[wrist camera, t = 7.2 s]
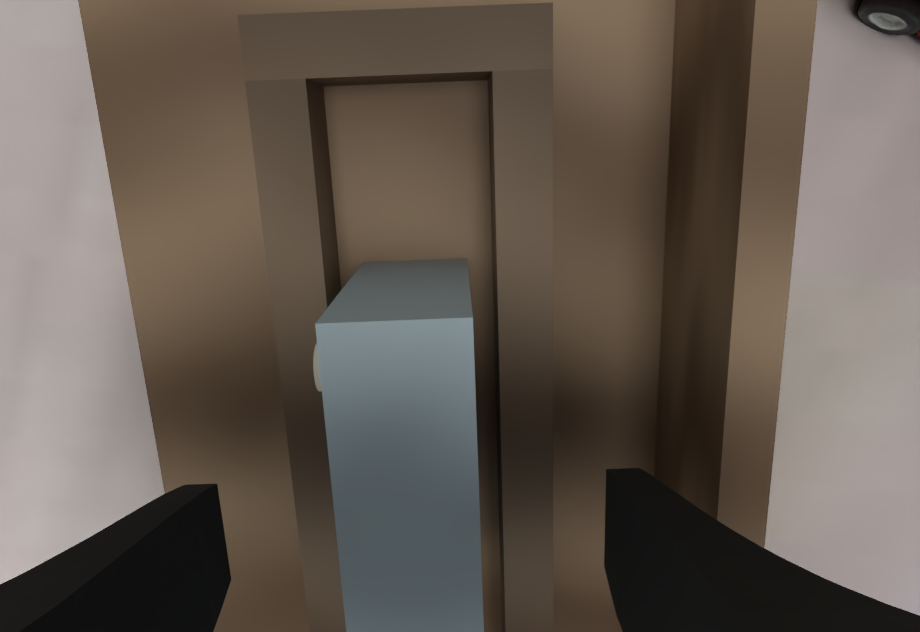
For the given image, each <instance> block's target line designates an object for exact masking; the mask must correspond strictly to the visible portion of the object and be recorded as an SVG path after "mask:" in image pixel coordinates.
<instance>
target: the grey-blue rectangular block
mask: <svg viewBox="0 0 920 632" xmlns="http://www.w3.org/2000/svg"><path fill="white" fill-rule="evenodd" d="M315 328H316V338H317V343H316V345H315V349H314V357H313V371H314V380H315V385H316V388H317V390H318V391H322V397H323V407H324V417H325V427H326V437H327V446H328V456H329V466H330V476H331V486H332V496H333V506H334V516H335V526H336V535H337V545H338V555H339V565H340V575H341V585H342V595H343V605H344V615H345V624H346V632H484V619H483V591H482V562H481V533H480V505H479V476H478V447H477V418H476V390H475V361H474V332H473V313H472V303H471V294H470V285H469V275H468V266H467V258H457V259H431V260H406V261H381V262H363V263H362V264H361V266H360V267H359V268H358V269H357V271H356V272H355V273H354V275H353V276H352V277H351V278H350V280H349V281H348V282H347V284H346V285H345V286H344V287H343V289H342V290H341V291H340V292H339V294H338V295H337V296H336V298H335V299H334V300H333V301H332V303H331V304H330V305H329V307H328V308H327V309H326V310H325V312H324V313H323V314H322V315H321V317H320V318H319V319H318V321H317V322H316V323H315Z"/></svg>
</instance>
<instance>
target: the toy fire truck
mask: <svg viewBox="0 0 920 632" xmlns="http://www.w3.org/2000/svg"><path fill="white" fill-rule="evenodd" d="M858 16H859V17H860V19H861V20H862V21H863V22H864V23H865V24H866V25H868V26H870V27H872V28H873V29H876V30H879V31H882V32H885V33H888V34H892V35H907V34H913V33H916V32H917V34H918V36H919V37H920V0H863V2H862V4H861V6H860V8H859V11H858Z"/></svg>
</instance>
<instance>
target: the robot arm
mask: <svg viewBox="0 0 920 632" xmlns="http://www.w3.org/2000/svg"><path fill="white" fill-rule="evenodd" d="M604 568H605V572H606V576H607V580H608V584H609V588H610V592H611V596H612V600H613V604H614V608H615V611H616V615H617V618H618V621H619V623H620V626H621V629H622V631H623V632H920V616H919V615H916V614H913V613H910V612H907V611H905V610H902V609H899V608H896V607H893V606H891V605H888V604H885V603H883V602H880V601H878V600H875V599H873V598H870V597H868V596H865V595H863V594H860V593H858V592H855V591H853V590H850V589H848V588H845V587H843V586H840V585H838V584H836V583H833V582H831V581H829V580H827V579H824V578H822V577H820V576H818V575H816V574H814V573H812V572H810V571H807V570H805V569H803V568H801V567H799V566H797V565H795V564H793V563H791V562H789V561H787V560H785V559H783V558H781V557H779V556H777V555H775V554H774V553H772V552H770V551H768V550H766V549H764V548H762V547H761V546H759V545H757V544H756V543H754V542H752V541H751V540H749V539H747V538H745V537H744V536H742V535H740V534H739V533H737V532H735V531H733V530H732V529H730V528H729V527H727V526H726V525H724V524H722V523H721V522H719V521H718V520H716V519H715V518H713V517H711V516H710V515H708V514H707V513H705V512H704V511H702V510H701V509H699V508H698V507H696V506H695V505H694V504H692V503H691V502H689V501H688V500H686V499H685V498H683V497H682V496H680V495H679V494H678V493H676V492H675V491H673V490H672V489H671V488H669V487H668V486H666V485H665V484H663V483H662V482H660V481H659V480H658V479H656V478H655V477H653V476H652V475H650V474H649V473H647V472H646V471H644V470H642V469H640V468H622V469H606V501H605V548H604ZM230 582H231V574H230V567H229V560H228V553H227V547H226V540H225V533H224V526H223V520H222V513H221V506H220V499H219V493H218V486H217V484H190V485H183V486H180V487H178V488H176V489H174V490H172V491H170V492H168V493H166V494H164V495H162V496H160V497H158V498H157V499H155V500H153V501H151V502H150V503H148V504H146V505H144V506H143V507H141V508H139V509H137V510H136V511H134V512H132V513H131V514H129V515H127V516H125V517H124V518H122V519H120V520H119V521H117V522H115V523H114V524H112V525H110V526H108V527H107V528H105V529H103V530H102V531H100V532H98V533H96V534H95V535H93V536H91V537H89V538H88V539H86V540H84V541H82V542H80V543H79V544H77V545H75V546H73V547H71V548H69V549H68V550H66V551H64V552H62V553H60V554H58V555H57V556H55V557H53V558H51V559H49V560H47V561H45V562H44V563H42V564H40V565H38V566H36V567H34V568H33V569H31V570H29V571H27V572H25V573H23V574H21V575H19V576H17V577H15V578H13V579H11V580H9V581H7V582H5V583H3V584H0V632H213V631H214V628H215V625H216V623H217V620H218V617H219V615H220V612H221V609H222V606H223V603H224V600H225V597H226V594H227V591H228V588H229V585H230Z"/></svg>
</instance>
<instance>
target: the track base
mask: <svg viewBox="0 0 920 632" xmlns="http://www.w3.org/2000/svg"><path fill="white" fill-rule="evenodd" d="M78 1H79V7H80V13H81V18H82V24H83V30H84V35H85V41H86V47H87V52H88V58H89V64H90V70H91V75H92V81H93V87H94V92H95V98H96V104H97V109H98V115H99V121H100V126H101V132H102V138H103V143H104V149H105V155H106V161H107V166H108V172H109V178H110V183H111V189H112V195H113V200H114V206H115V212H116V217H117V223H118V229H119V234H120V240H121V246H122V251H123V257H124V263H125V269H126V274H127V280H128V286H129V291H130V297H131V303H132V308H133V314H134V320H135V325H136V331H137V337H138V342H139V348H140V354H141V360H142V365H143V371H144V377H145V382H146V388H147V394H148V399H149V405H150V411H151V416H152V422H153V428H154V433H155V439H156V445H157V451H158V456H159V462H160V468H161V473H162V479H163V485H164V490H165V494H166V493H168V492H170V491H172V490H174V489H176V488H178V487H180V486H183V485H190V484H217V486H218V493H219V499H220V506H221V513H222V520H223V526H224V533H225V540H226V547H227V553H228V560H229V567H230V574H231V582H230V585H229V588H228V591H227V594H226V597H225V600H224V603H223V606H222V609H221V612H220V615H219V617H218V620H217V623H216V625H215V628H214V631H213V632H346V624H345V615H344V605H343V595H342V585H341V575H340V565H339V555H338V545H337V535H336V526H335V516H334V506H333V496H332V486H331V476H330V466H329V456H328V446H327V437H326V427H325V417H324V407H323V397H322V391H318V390H317V388H316V385H315V380H314V371H313V357H314V349H315V345H316V343H317V338H316V328H315V323H316V322H317V321H318V319H319V318H320V317H321V315H322V314H323V313H324V312H325V310H326V309H327V308H328V307H329V305H330V304H331V303H332V301H333V300H334V299H335V298H336V296H337V295H338V294H339V292H340V291H341V290H342V289H343V287H344V286H345V285H346V284H347V282H348V281H349V280H350V278H351V277H352V276H353V275H354V273H355V272H356V271H357V269H358V268H359V267H360V266H361V264H362V263H363V262H381V261H406V260H431V259H457V258H467V266H468V275H469V285H470V294H471V303H472V313H473V332H474V361H475V390H476V418H477V447H478V476H479V505H480V533H481V562H482V591H483V619H484V632H623V631H622V629H621V626H620V623H619V621H618V618H617V615H616V611H615V608H614V604H613V600H612V596H611V592H610V588H609V584H608V580H607V576H606V572H605V568H604V548H605V501H606V469H622V468H640V469H642V470H644V471H646V472H647V473H649V474H650V475H652V476H653V477H655V478H656V479H658V480H659V481H660V482H662V483H663V484H665V485H666V486H668V487H669V488H671V489H672V490H673V491H675V492H676V493H678V494H679V495H680V496H682V497H683V498H685V499H686V500H688V501H689V502H691V503H692V504H694V505H695V506H696V507H698V508H699V509H701V510H702V511H704V512H705V513H707V514H708V515H710V516H711V517H713V518H715V519H716V520H718V521H719V522H721V523H722V524H724V525H726V526H727V527H729V528H730V529H732V530H733V531H735V532H737V533H739V534H740V535H742V536H744V537H745V538H747V539H749V540H751V541H752V542H754V543H756V544H757V545H759V546H761V547H762V548H764V545H765V535H766V524H767V514H768V504H769V493H770V483H771V473H772V462H773V452H774V442H775V432H776V421H777V411H778V401H779V390H780V380H781V370H782V359H783V349H784V339H785V329H786V318H787V308H788V298H789V287H790V277H791V267H792V256H793V246H794V236H795V226H796V215H797V205H798V195H799V184H800V174H801V164H802V154H803V143H804V133H805V123H806V112H807V102H808V92H809V81H810V71H811V61H812V51H813V40H814V30H815V20H816V9H817V0H78Z"/></svg>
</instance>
